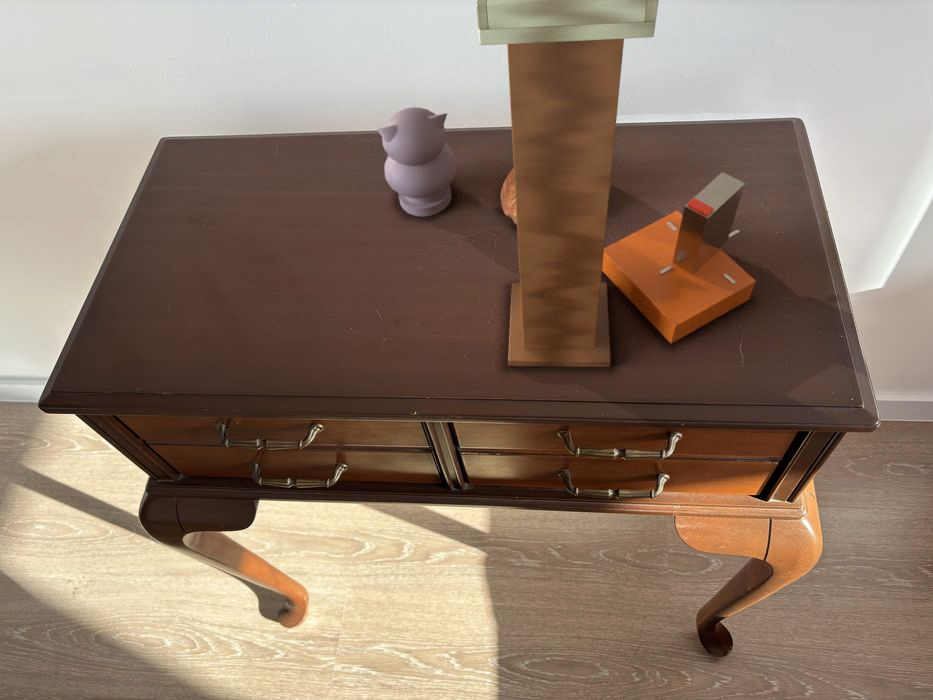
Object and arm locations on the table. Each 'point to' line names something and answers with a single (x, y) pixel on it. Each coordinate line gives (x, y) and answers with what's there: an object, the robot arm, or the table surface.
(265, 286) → the table surface
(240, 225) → the table surface
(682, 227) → the steel brick red tip
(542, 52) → the brown wooden square column
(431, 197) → the cat figurine
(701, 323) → the orange flat square block
